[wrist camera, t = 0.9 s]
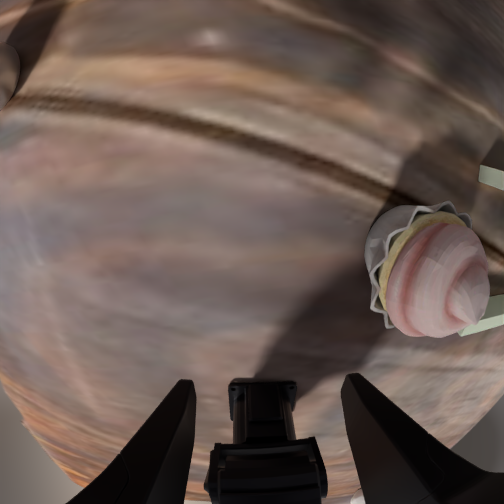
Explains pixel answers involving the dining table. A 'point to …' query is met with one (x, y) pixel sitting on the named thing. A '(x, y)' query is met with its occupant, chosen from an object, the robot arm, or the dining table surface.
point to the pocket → (498, 306)
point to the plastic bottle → (8, 72)
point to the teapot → (358, 497)
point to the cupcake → (427, 270)
